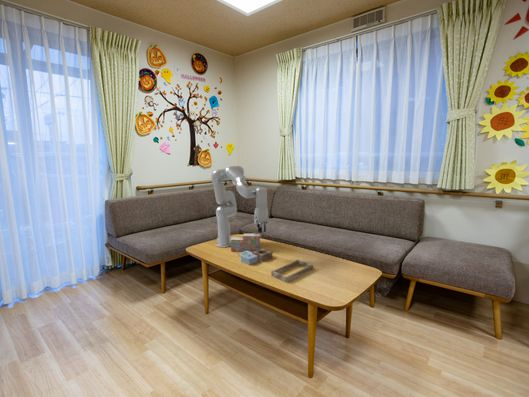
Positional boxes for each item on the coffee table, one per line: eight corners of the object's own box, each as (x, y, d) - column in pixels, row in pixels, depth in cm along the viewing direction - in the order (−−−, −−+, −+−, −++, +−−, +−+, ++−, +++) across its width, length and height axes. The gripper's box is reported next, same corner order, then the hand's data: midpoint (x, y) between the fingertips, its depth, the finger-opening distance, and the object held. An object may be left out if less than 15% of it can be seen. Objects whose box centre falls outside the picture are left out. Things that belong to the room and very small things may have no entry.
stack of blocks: (231, 251, 207) (230, 235, 205) (232, 248, 213) (231, 233, 211) (259, 251, 206) (259, 235, 204) (260, 248, 212) (259, 233, 210)
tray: (238, 256, 197) (238, 253, 197) (246, 253, 203) (246, 250, 202) (245, 259, 192) (245, 256, 191) (254, 256, 197) (254, 253, 197)
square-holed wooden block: (252, 257, 194) (251, 252, 194) (262, 253, 201) (262, 248, 201) (262, 261, 187) (262, 255, 187) (272, 257, 194) (272, 251, 194)
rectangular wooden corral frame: (271, 275, 165) (271, 271, 165) (297, 263, 183) (297, 259, 182) (287, 282, 157) (287, 278, 156) (313, 269, 174) (313, 264, 174)
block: (241, 261, 187) (241, 255, 187) (249, 258, 193) (249, 252, 192) (249, 264, 182) (248, 259, 181) (257, 261, 187) (257, 255, 187)
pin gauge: (259, 236, 192) (258, 222, 190) (262, 235, 194) (262, 221, 192) (262, 237, 189) (261, 223, 188) (265, 236, 192) (265, 222, 190)
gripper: (266, 203, 196) (266, 228, 199) (248, 206, 185) (249, 233, 188) (273, 204, 191) (273, 230, 194) (256, 208, 180) (257, 235, 183)
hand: (261, 231), depth 191 cm, fingers closed on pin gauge, 3 cm apart
